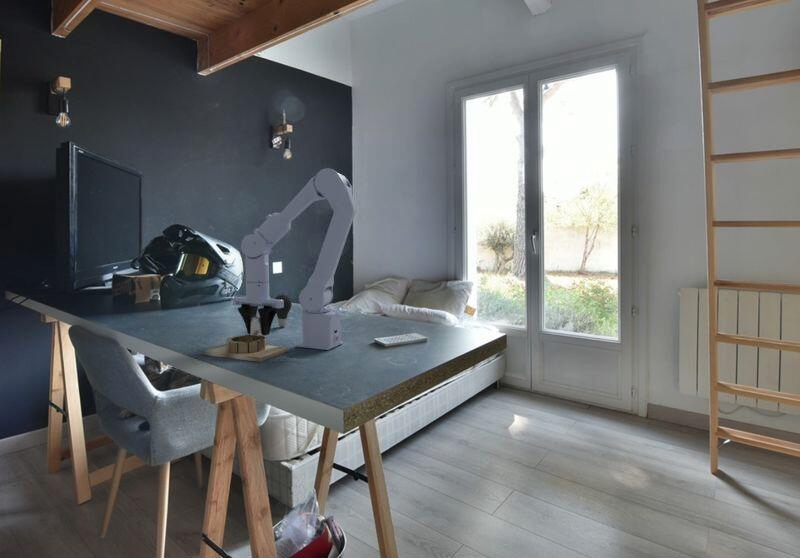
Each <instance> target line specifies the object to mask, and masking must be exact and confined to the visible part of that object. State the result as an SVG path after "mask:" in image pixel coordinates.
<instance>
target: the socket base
mask: <svg viewBox="0 0 800 558" xmlns="http://www.w3.org/2000/svg"><path fill="white" fill-rule="evenodd" d="M203 351H204V355H205V356H211V357H219V358H220V357H221V358H229V359H235V360H241V361H249V362H257V363H258V362H259V363H262V362H265V361H267V360H270V359H271V358H275V357H277V356H280V355H282V354H285V353H288V347H286V346H285V347H284V346H278V345H276V346H275V345H268V344H267V343H266V337H264V336H261V335H251V334H242V335H241V334H240V335H236V336H230V337H228V338H227V339H226V343H225V344H221V345H218V346H215V347H211V348H208V349H204V350H203Z"/></svg>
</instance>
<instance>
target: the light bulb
mask: <svg viewBox="0 0 800 558" xmlns="http://www.w3.org/2000/svg"><path fill="white" fill-rule="evenodd" d="M274 299H279V300H284V307H283V308H278V311H277V313H276V314H275V315H276V318H277V323H278V326H280V328H285V327H286V326H287V323H288V322H287V320H288V319H287V318H288V316H289V315H288V314H289V313H290V311H291V309H292V300H291V298H290V296H287V295H286V294H279V295H277V296H275V297H274Z"/></svg>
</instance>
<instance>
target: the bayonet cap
mask: <svg viewBox="0 0 800 558" xmlns="http://www.w3.org/2000/svg"><path fill="white" fill-rule="evenodd" d="M249 335H261V336H264V335H262V329H261V319H260V315H259V314H258V315H257V314H256V316H251V317H250V334H249ZM264 337H266V344H267V342H268V335H265V336H264Z"/></svg>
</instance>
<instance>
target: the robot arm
mask: <svg viewBox="0 0 800 558" xmlns="http://www.w3.org/2000/svg"><path fill="white" fill-rule="evenodd" d="M353 195H354V194H353V186H352V184H351V183H350V182H349V180H348V178H346V176H345V175H343V174H341V173H338V172H337V171H336V170H335V169H333V168H323V169H320V170H319V171H318V172H317V173H316V175H315V176H313V177H311V178H310V179H309V180H308V182H307V183H306V185H304V186H303V188H302V189H301V190H300V191H299V192H298V193H297V194H296V196H294V198H293V199H292V200H291V201H289V203H288V204H287V206H285V207H284V208H283V210H281V212H273V213H271V214H267V215H266V217H265V219H266V220H265V221H264V222H263V223H262V224H261V225H260V226H259V227H258V228H255V229H253V233H251V234H250V233H249V234H247V235H245V236H244V237H243V239H242V241H241V245H240V248H241V251H242V253H243V255H245V256H244V258H245V259H244V261H245V265H244V267H245V296H235V297H233V298H232V305H233V306H240V307H237V311H238V313H239V314H240V316H241V318H242V321H244V322H243V323H244V325H245V328H246V331H247V335H251V334H250V317H251V316H256V315H257V313H258V315H260V319H261V329H262V335H264V336H265V335H267V336H268V335H270V333H271V327H272V324H273V321H274V318H275V316H276V315H277V314H276V313H277V311H278V308H283V307H284V300H279V299H275V298H271V296H270V266H269V265H270V264H269V260H270V259H269V256H270V255H271V253H272V252H273V247H274V246H275V245H277V243H278V242H279V241H280V240H282V238H284V237H285V235H286V234H288V233H289V231H290V230H291V229H292V228H291V226H292V221H294V220H295V219H296V218H297V217H298V216H299V215H300V214H302V213H303V212H304V211H305V210H306V209H307V208H308V207H309V206H311V204H312V203H314V202H317V201H322V200H327V201H328V204H329V206H330V207H331V209H332V211H333V214H332V217H331V220H330V224H329V226H328V228H327V232H326V235H325V238H324V241H323V243H322V247H321V250H320V253H319V256H318V259H317V261H316V265H315V267H314V271H313V273H312V274H311V276H310V277H309V279H308V280H307V281H308V282H307V283H306V285H305V287H304V288H302V290H301V291H300V293H299V295H298V301H299V304H300V306H301V308H302V310H301V313H302V315H301V318H302V320H301V321H302V322H301V323H302V325H301V326H302V328H301V329H302V331H301V332H302V342H299V343H296V344H295V347H297V348H307V349H308V348H309V349H313V350H314V349H315V350H324V351H328V350H331V349H333V348H336V347H338V346H339V345H342V344H343V343H344V342H343V341H342V319H341V318H342V317H341V315H340V314H339V312H334V311H332V307H331V305H330V303H331V302H332V301H333V298H334V293H333V292H334V291H333V287H334V284H335V279H334V276H335V274H336V270H337V267H338V265H339V262H340V258H341V256H342V253H343V250H344V247H345V244H346V242H347V239H348V235H349V233H350V230H351V227H352V224H353V221H354V218H355V215H356V211H357V210H356V209H357V208H356V204H355V199H354V196H353ZM259 307H260V308H259ZM257 311H258V312H257Z"/></svg>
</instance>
